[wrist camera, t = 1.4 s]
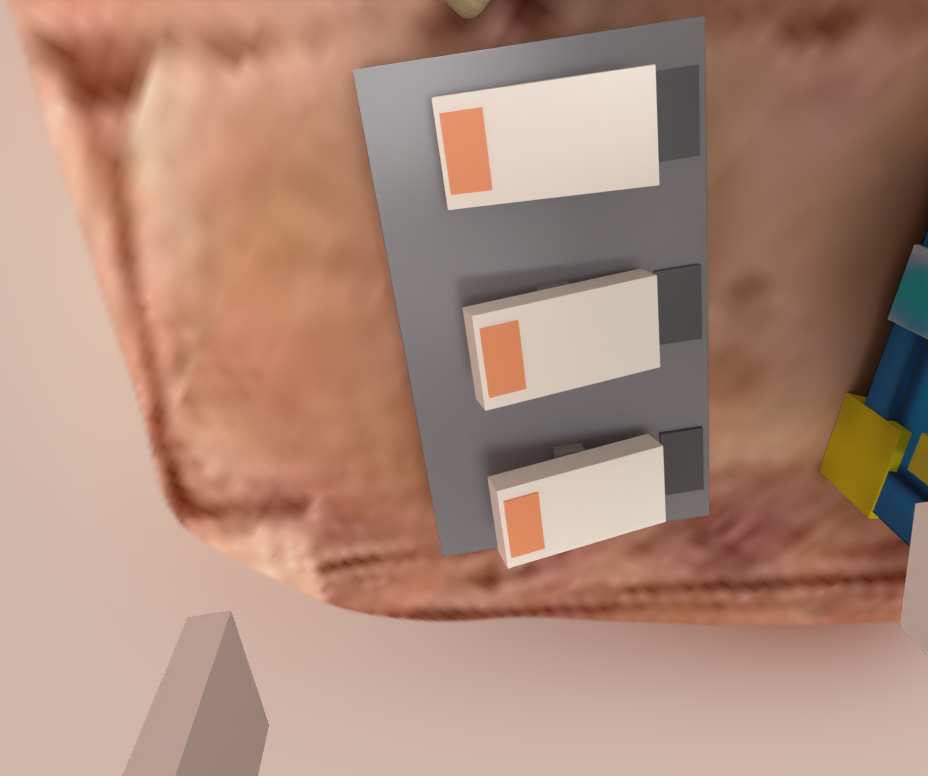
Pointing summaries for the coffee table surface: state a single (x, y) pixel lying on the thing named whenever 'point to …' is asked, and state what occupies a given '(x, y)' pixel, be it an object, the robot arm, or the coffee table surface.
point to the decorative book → (890, 416)
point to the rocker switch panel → (544, 271)
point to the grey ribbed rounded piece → (468, 7)
